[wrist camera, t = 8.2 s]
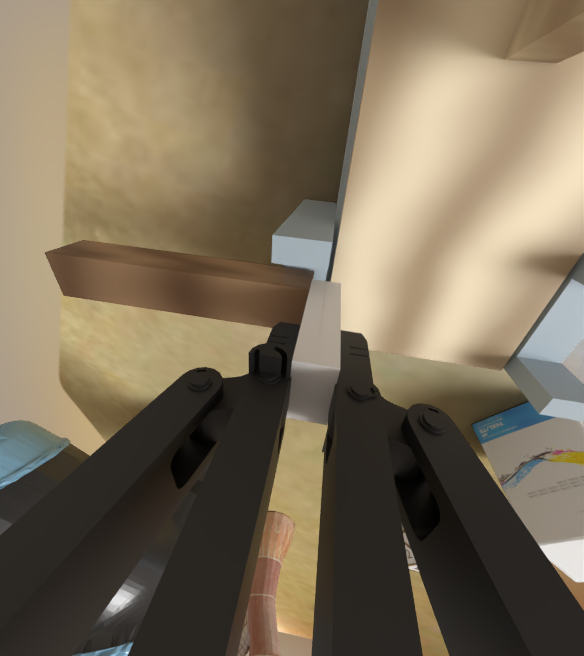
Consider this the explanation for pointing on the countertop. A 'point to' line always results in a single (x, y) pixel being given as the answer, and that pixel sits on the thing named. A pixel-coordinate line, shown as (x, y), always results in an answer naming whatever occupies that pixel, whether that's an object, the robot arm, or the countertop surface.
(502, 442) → the ink box
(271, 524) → the vase
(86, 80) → the countertop surface
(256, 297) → the cross bar
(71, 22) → the countertop surface
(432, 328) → the lid
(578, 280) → the grey box with brackets
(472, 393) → the countertop surface
